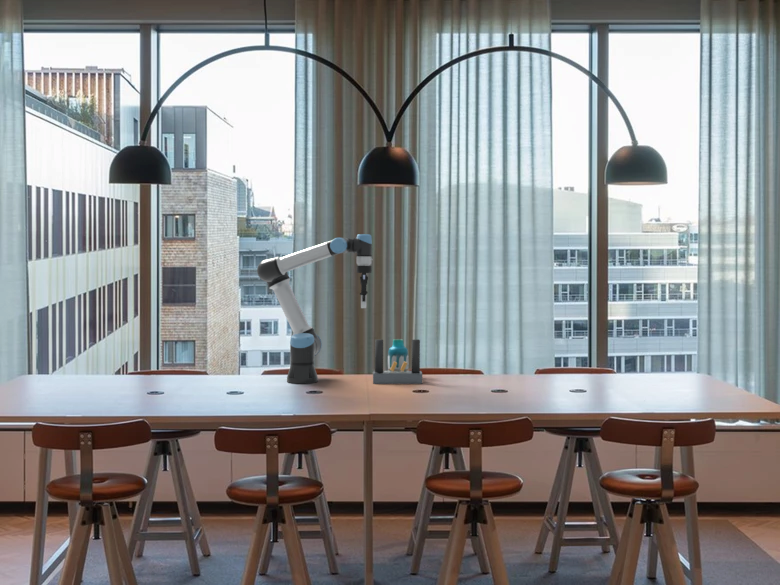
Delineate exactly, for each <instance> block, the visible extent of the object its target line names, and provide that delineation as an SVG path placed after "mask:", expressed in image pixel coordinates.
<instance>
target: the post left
mask: <svg viewBox="0 0 780 585" xmlns="http://www.w3.org/2000/svg"><path fill="white" fill-rule="evenodd" d="M374 340H375V341H374V371H375V372H376V373H383V371H384V339H374Z"/></svg>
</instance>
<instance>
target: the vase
mask: <svg viewBox="0 0 780 585" xmlns="http://www.w3.org/2000/svg"><path fill="white" fill-rule="evenodd" d="M394 361H395V362H397V365H396V367H395V369H394V371H402V370H400V369H401V367H402V365H403V363H404V361H405V362H407V365H406V367H405V369H404V371H409V350H408V348H407V347H405V344H404V339H402V338H396V339H392V345H391V347H389V348H388V351H387V371H391V370H390V369H391V367H392V365H393V362H394Z"/></svg>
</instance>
